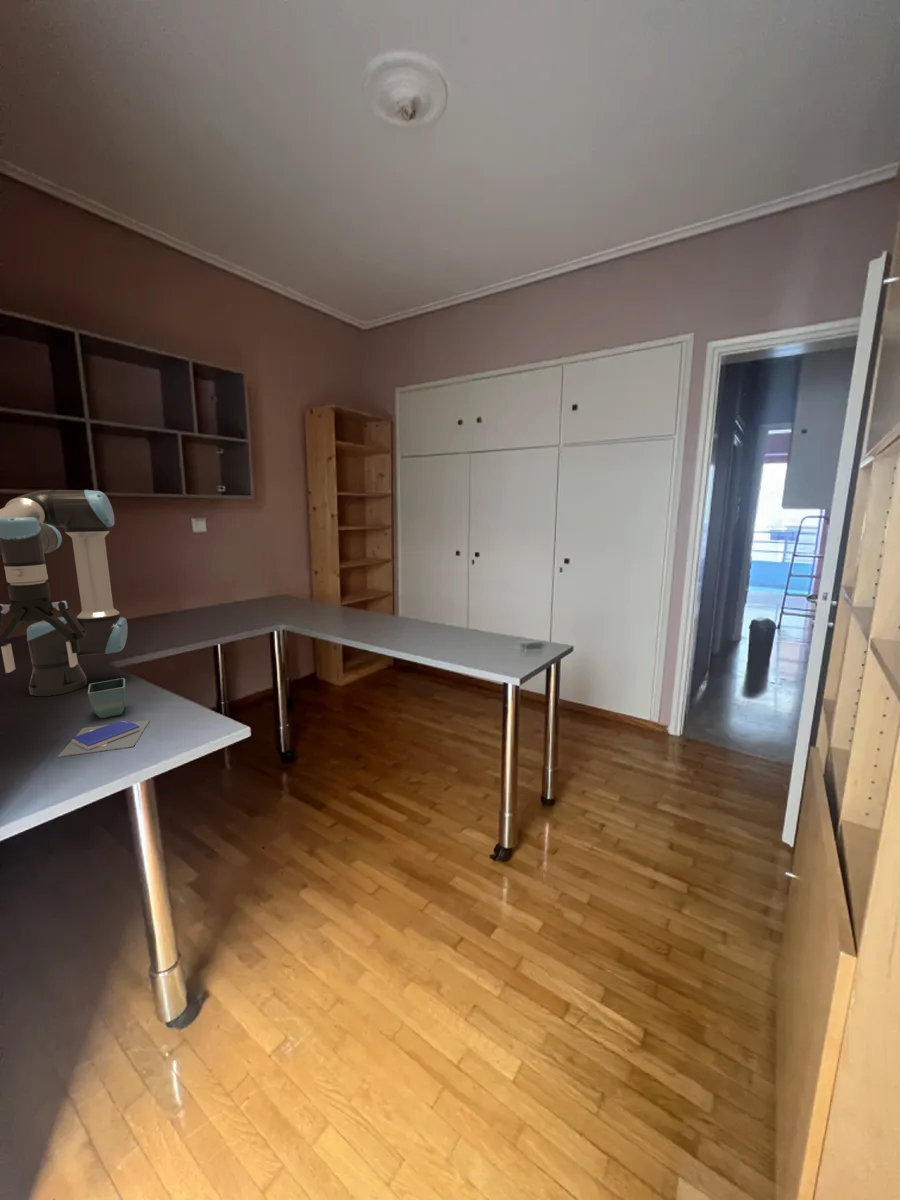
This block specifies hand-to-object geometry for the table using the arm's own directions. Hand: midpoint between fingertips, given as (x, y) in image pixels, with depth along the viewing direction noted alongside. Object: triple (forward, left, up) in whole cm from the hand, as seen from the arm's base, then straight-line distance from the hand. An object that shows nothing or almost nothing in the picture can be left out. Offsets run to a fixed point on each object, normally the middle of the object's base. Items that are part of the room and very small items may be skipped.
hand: (42, 668), depth 120 cm
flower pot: (-17, +7, -21) cm, 28 cm away
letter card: (0, +11, -21) cm, 23 cm away
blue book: (0, +11, -20) cm, 23 cm away
